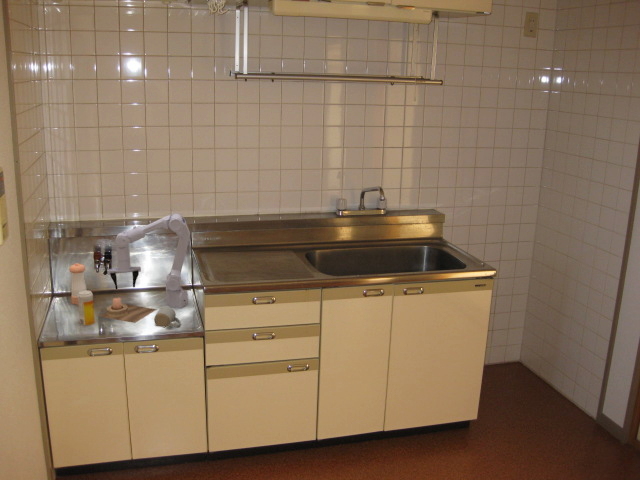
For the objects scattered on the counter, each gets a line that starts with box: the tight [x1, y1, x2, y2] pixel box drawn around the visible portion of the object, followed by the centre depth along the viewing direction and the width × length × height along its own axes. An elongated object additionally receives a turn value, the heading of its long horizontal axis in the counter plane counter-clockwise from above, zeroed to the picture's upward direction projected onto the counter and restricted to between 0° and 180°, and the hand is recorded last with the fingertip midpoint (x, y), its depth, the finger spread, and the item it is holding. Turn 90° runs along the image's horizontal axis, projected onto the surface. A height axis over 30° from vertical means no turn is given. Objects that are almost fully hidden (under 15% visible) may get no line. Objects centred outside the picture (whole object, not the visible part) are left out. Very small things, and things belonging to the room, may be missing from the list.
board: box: [98, 303, 157, 324], centre depth 297 cm, size 19×17×1 cm
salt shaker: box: [68, 262, 87, 306], centre depth 309 cm, size 7×7×19 cm
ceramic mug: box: [153, 305, 181, 329], centre depth 287 cm, size 11×8×8 cm
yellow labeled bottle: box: [77, 289, 96, 326], centre depth 284 cm, size 6×6×15 cm
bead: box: [105, 303, 128, 318], centre depth 295 cm, size 9×9×3 cm
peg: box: [112, 297, 122, 310], centre depth 294 cm, size 4×4×7 cm
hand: (125, 287), depth 302 cm, fingers open, 7 cm apart
